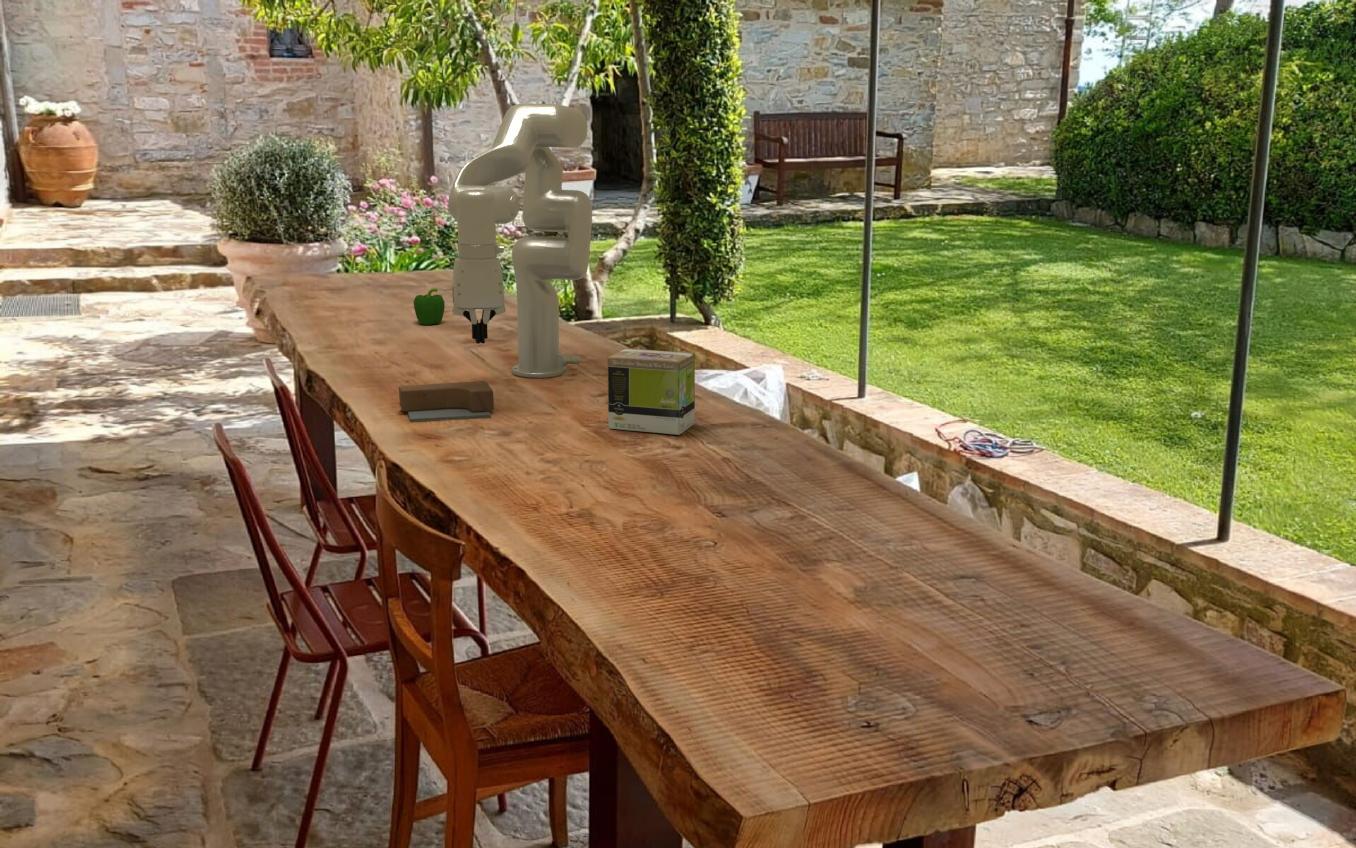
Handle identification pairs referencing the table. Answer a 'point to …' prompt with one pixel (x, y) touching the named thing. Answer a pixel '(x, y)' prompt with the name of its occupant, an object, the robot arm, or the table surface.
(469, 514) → the table surface
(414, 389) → the wooden block
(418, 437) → the table surface
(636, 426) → the tea box
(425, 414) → the mat
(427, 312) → the bell pepper
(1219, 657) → the table surface
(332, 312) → the table surface
